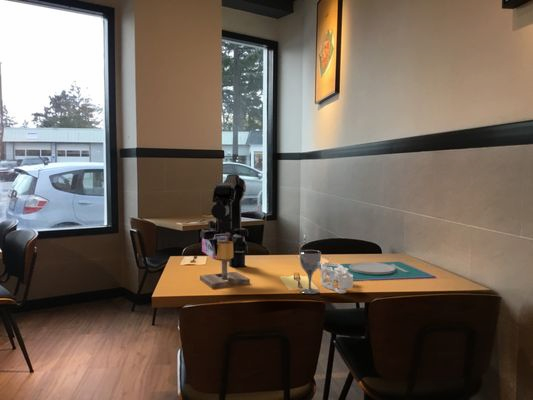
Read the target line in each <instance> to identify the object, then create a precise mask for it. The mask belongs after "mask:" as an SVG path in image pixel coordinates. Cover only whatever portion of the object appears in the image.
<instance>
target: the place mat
mask: <svg viewBox="0 0 533 400" xmlns="http://www.w3.org/2000/svg"><path fill="white" fill-rule="evenodd" d="M339 264H340V265H342V266H343V267H344V268H348V274H351V275H353V282H361V281H362V282H365V281H364V280H370V281H387V280H388V281H391V280H394V279H395V280H415V279H416V280H417V279H436V275H434V274H431V273H429V272H427V271H424V270H423V269H419V268H417V267H416V266H412V265H410V264H408V263H405V262H402V261H399V260H398V261H379V262H378V261H376V262H375V261H374V262H371V261H369V262H367V261H366V262H365V261H362V262H352V263H339ZM324 267H325V266H324ZM327 267H332V269H333V271H334V268H337V267H338V266H327ZM318 269H319V271H321V264H320V265H319V267H318ZM318 269H317V270H318ZM326 276H327V277H330V273H328V272H326Z"/></svg>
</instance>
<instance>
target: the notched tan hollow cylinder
mask: <svg viewBox="0 0 533 400" xmlns="http://www.w3.org/2000/svg"><path fill="white" fill-rule="evenodd" d="M215 258H217V259H218V260H229V259H231V258H233V242H231V241H228V240H227V241H219V242H217V256H215ZM217 259H216V260H217Z"/></svg>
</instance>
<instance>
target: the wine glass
mask: <svg viewBox="0 0 533 400" xmlns="http://www.w3.org/2000/svg"><path fill="white" fill-rule="evenodd" d="M321 260H322V251H320V250H316V249H302V250H300V251H299V263H300V266H301V268H302V269H303V271H304V272H305V273H306V274H307V279H308V287H307V288H302V289H300V292H301V294H307V295H313V294H319V293H320V291H319V289H316V288H312V277H313V275H314V273H315V272H316V271H317V270H318V267H319V265H321Z"/></svg>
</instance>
